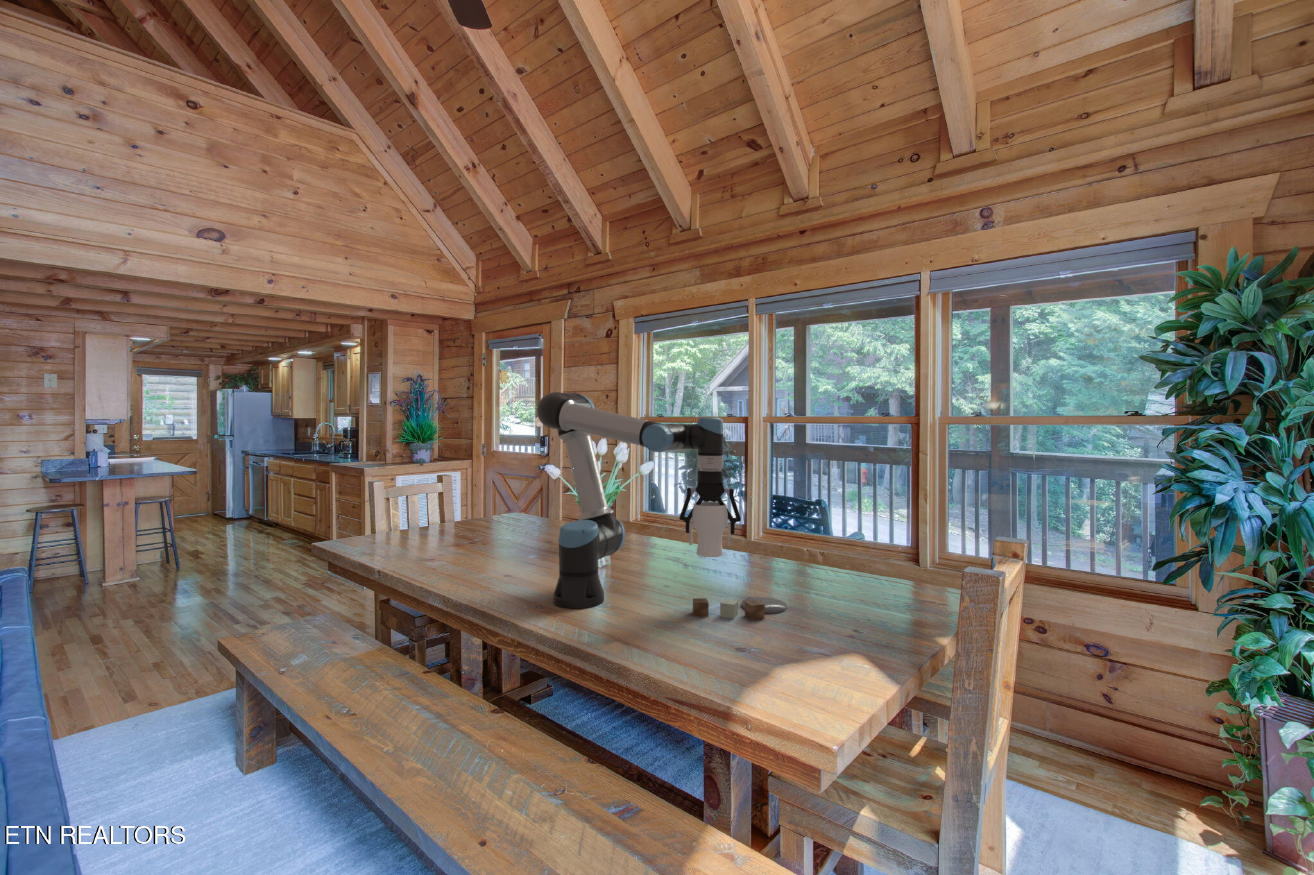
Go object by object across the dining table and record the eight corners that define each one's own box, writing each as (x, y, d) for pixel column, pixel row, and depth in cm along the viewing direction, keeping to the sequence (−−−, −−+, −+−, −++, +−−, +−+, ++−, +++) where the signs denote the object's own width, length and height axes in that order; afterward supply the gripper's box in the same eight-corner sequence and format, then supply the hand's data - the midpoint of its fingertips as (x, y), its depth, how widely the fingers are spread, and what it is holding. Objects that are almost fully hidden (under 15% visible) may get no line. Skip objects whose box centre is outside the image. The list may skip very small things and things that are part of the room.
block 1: (694, 617, 162) (694, 602, 162) (692, 612, 166) (692, 598, 166) (708, 616, 163) (708, 602, 162) (706, 612, 167) (706, 598, 166)
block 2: (720, 617, 162) (720, 602, 162) (724, 612, 166) (724, 598, 166) (734, 619, 161) (734, 604, 161) (738, 614, 164) (738, 600, 164)
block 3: (751, 620, 160) (751, 605, 160) (744, 615, 164) (744, 601, 164) (764, 618, 161) (764, 604, 161) (757, 614, 165) (757, 600, 165)
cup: (727, 551, 177) (728, 501, 177) (728, 559, 167) (728, 506, 166) (692, 550, 178) (692, 501, 178) (691, 558, 168) (691, 506, 167)
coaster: (741, 612, 166) (741, 609, 166) (741, 598, 179) (741, 596, 179) (788, 614, 164) (788, 611, 164) (784, 600, 177) (784, 597, 177)
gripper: (669, 470, 170) (669, 546, 170) (750, 471, 167) (749, 548, 167) (672, 468, 177) (672, 540, 178) (749, 469, 174) (749, 543, 175)
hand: (709, 544), depth 173 cm, fingers closed on cup, 11 cm apart
